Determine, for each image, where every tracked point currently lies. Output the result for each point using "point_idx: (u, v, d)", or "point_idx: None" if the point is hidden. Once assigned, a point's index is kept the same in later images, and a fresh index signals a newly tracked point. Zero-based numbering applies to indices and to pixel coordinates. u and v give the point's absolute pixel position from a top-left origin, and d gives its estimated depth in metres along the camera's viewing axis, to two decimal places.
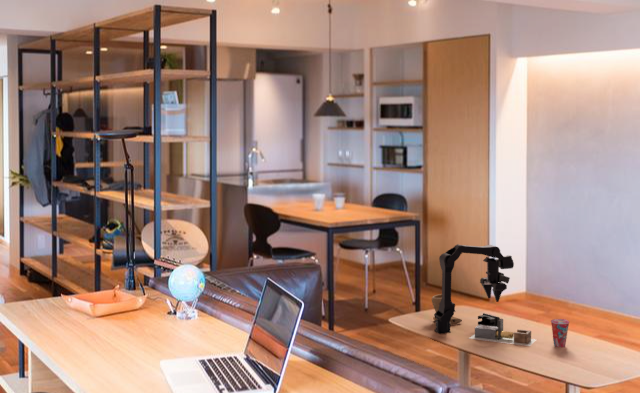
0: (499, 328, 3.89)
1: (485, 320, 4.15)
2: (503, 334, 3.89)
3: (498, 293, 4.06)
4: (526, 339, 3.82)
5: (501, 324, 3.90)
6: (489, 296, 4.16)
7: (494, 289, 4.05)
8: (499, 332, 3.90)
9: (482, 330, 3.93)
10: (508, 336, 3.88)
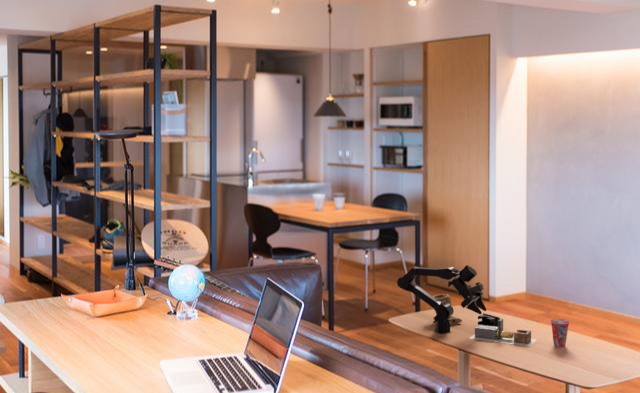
0: (499, 328, 3.89)
1: (485, 320, 4.15)
2: (503, 334, 3.89)
3: (474, 307, 3.92)
4: (526, 339, 3.82)
5: (501, 324, 3.90)
6: (484, 309, 3.98)
7: (467, 306, 3.93)
8: (499, 332, 3.90)
9: (482, 330, 3.93)
10: (508, 336, 3.88)
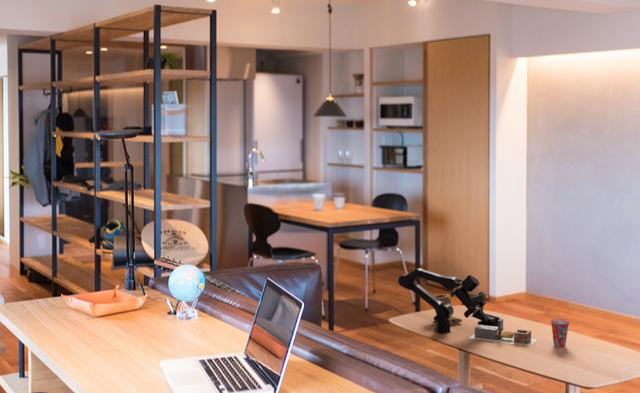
0: (499, 328, 3.89)
1: None
2: (503, 334, 3.89)
3: (479, 315, 3.95)
4: (526, 339, 3.82)
5: (501, 324, 3.90)
6: None
7: None
8: (499, 332, 3.90)
9: (482, 330, 3.93)
10: (508, 336, 3.88)
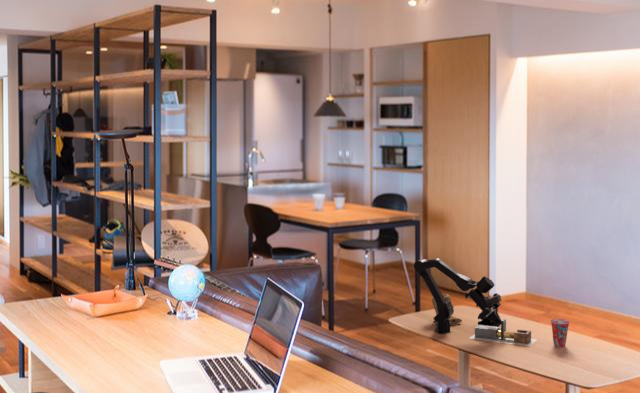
0: (502, 328, 3.89)
1: (485, 320, 4.15)
2: (506, 334, 3.89)
3: (494, 317, 3.91)
4: (526, 339, 3.82)
5: (504, 324, 3.90)
6: None
7: (487, 316, 3.92)
8: (502, 332, 3.89)
9: (482, 330, 3.93)
10: (511, 336, 3.88)
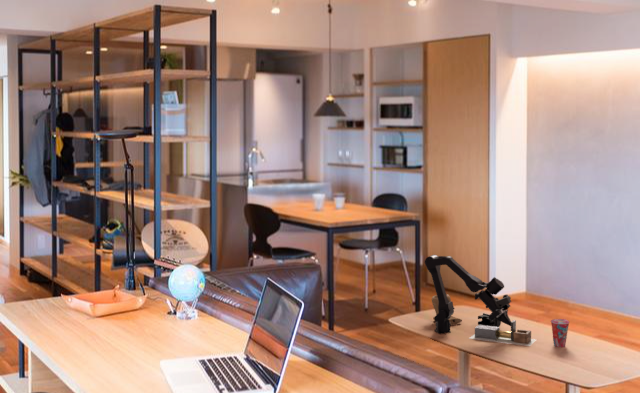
0: (512, 330, 3.86)
1: (485, 320, 4.15)
2: None
3: (504, 318, 3.89)
4: (526, 339, 3.82)
5: (514, 325, 3.87)
6: None
7: (497, 318, 3.90)
8: (512, 334, 3.87)
9: (482, 330, 3.93)
10: None
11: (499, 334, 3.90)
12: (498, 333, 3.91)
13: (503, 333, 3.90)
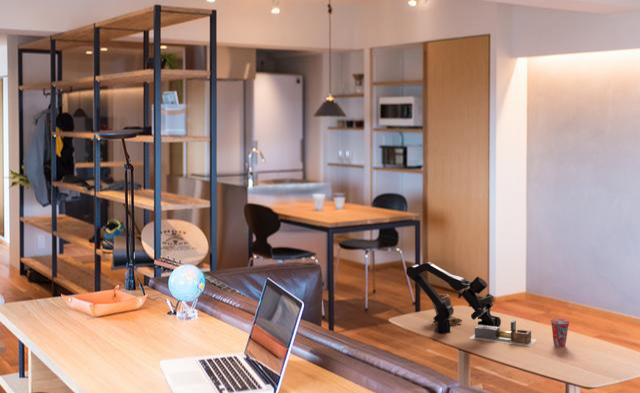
0: (512, 330, 3.86)
1: None
2: None
3: (486, 317, 3.93)
4: (526, 339, 3.82)
5: (514, 325, 3.87)
6: None
7: None
8: (512, 334, 3.87)
9: (482, 330, 3.93)
10: None
11: (499, 334, 3.90)
12: (498, 333, 3.91)
13: (503, 333, 3.90)
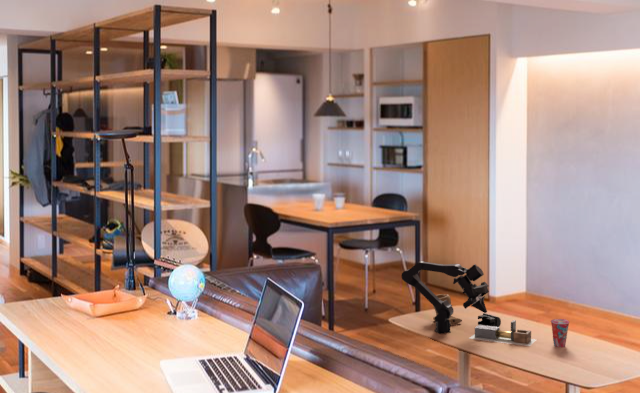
0: (512, 330, 3.86)
1: (485, 320, 4.15)
2: None
3: (479, 305, 3.96)
4: (526, 339, 3.82)
5: (514, 325, 3.87)
6: None
7: None
8: (512, 334, 3.87)
9: (482, 330, 3.93)
10: None
11: (499, 334, 3.90)
12: (498, 333, 3.91)
13: (503, 333, 3.90)
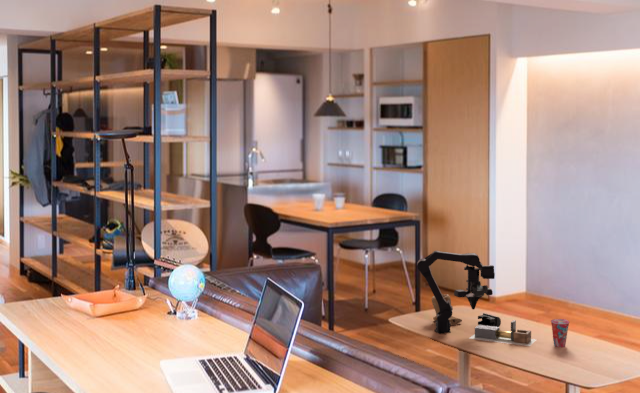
0: (512, 330, 3.86)
1: (485, 320, 4.15)
2: None
3: (470, 300, 4.03)
4: (526, 339, 3.82)
5: (514, 325, 3.87)
6: None
7: None
8: (512, 334, 3.87)
9: (482, 330, 3.93)
10: None
11: (499, 334, 3.90)
12: (498, 333, 3.91)
13: (503, 333, 3.90)
